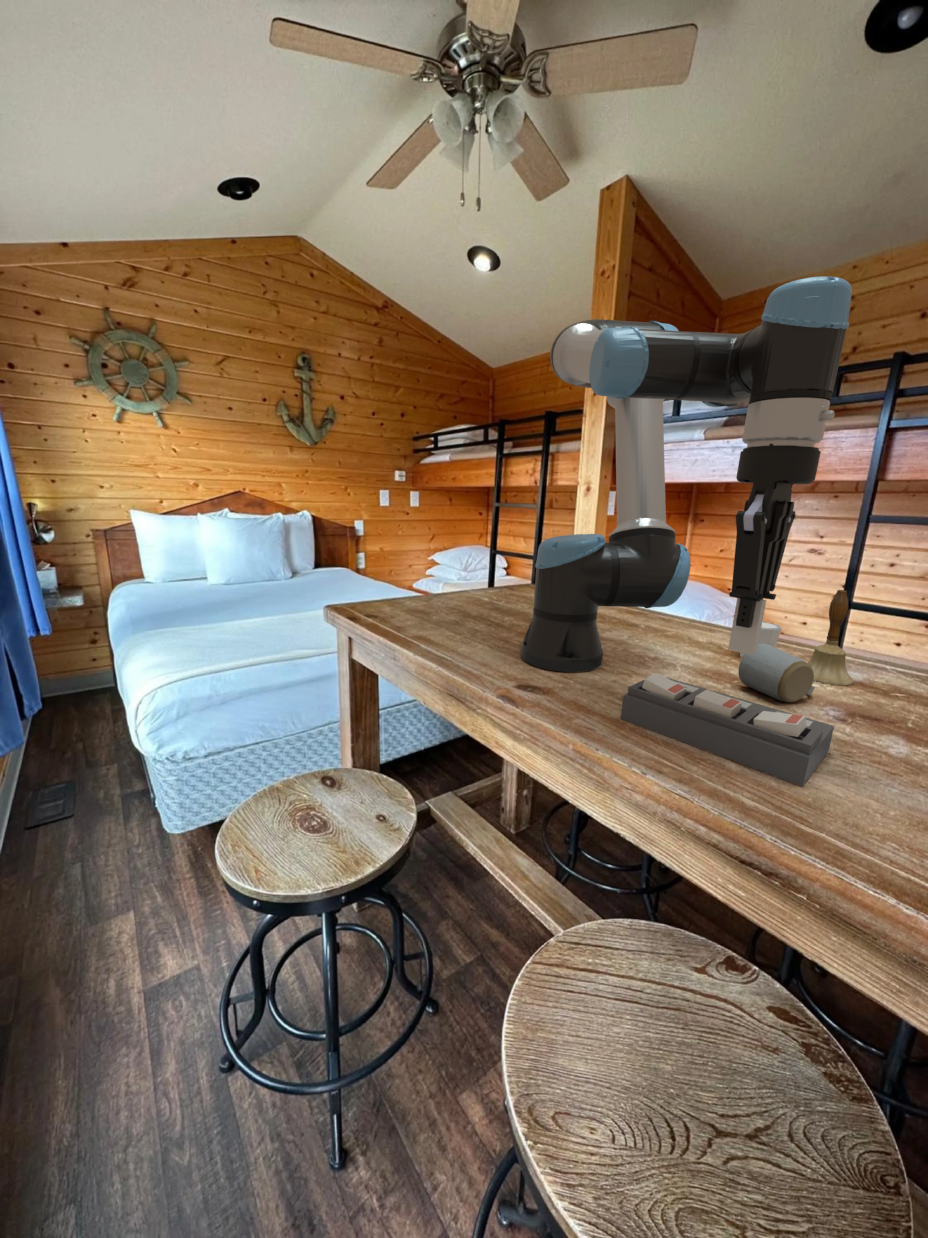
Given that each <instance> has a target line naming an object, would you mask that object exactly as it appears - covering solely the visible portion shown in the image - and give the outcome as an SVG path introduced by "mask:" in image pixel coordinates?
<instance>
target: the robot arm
mask: <svg viewBox="0 0 928 1238" xmlns="http://www.w3.org/2000/svg"><path fill="white" fill-rule="evenodd" d="M852 289H853V288H852V286H851V283H850V282H848V281H847V280H846V279H843V278H841V277H838V276H837V277H836V276H826V275H825V276H824V275H823V276H813V277H812V276H810V277H806V278H801V279H796V280H792V281H790V282H786V283H784V284H782V285H780V286H778V287H777V288H775V289H774V290H772V291H771V293H769V295H768V297H767V299H766V303H765V305H764V309H763V313H762V315H761V318H760V320H761V324H760V325H758V326H756V327H754V328H752V329H751V330H749V331H746V332H744V333H724V332H707V331H704V332H702V331H680V330H679V329H678V328H677V327H676V326H674V324H673V325H672V324H670V323H662V322H659V321H656V320H650V321H647V322H644V321H632V320H631V321H628V320H613V319H600V318H597V319H596V318H593V319H585V320H582V321H578V322H574V323H572V324H569V325H568V326H566V327H565V328H563V329H562V330H561V331H560V332H559V333H557V336H556V337H555V338H554V340H553V343H552V345H551V349H550V352H549V353H550V354H549V355H550V356H549V358H550V359H549V361H550V365H551V369H552V371H553V373H554V374H555V376H557V377H558V378H559V380H561V381H563V382H564V383H567V384H569V385H573V386H576V387H578V388H579V387H580V388H588V389H591V390H592V392H593V393H594V394H595V395H597V396H600V397H606V402H607V404H608V405H609V406H611V408H613V409H614V412H615V413H614V414H615V415H614V420H615V425H614V426H615V429H614V430H615V469H616V470H615V476H616V479H615V480H616V481H615V483H616V485H615V487H616V493H615V494H616V527H615V529H613V531H612V532H610V534H609V535H608V542H607V540H606V538H605V536H604V535H603V534H601V533H584V534H583V533H579V534H578V533H577V534H565V535H558V536H553V537H549V538H545V539H544V540H542V541H541V542H540V544H539V545H538V549H537V554H536V560H535V561H536V562H535V565H534V567H535V568H536V569H535V579H534V580H535V581H534V598H533V610H532V611H533V612H532V619H531V621H530V623H529V626H528V628H527V630H526V633H525V636H524V639H523V642H522V644H521V650H520V651H521V652H520V657H521V659H522V660H523V661H524V662H525V663H527V664H529V665H531V666H534V667H536V668H540V669H544V670H548V671H554V672H563V673H582V672H588V671H593V670H596V669H599V668H600V667H601V666H602V665H603V656H604V651H603V647H602V643H601V637H600V634H599V630H598V624H597V620H598V611H599V607H617V608H618V607H621V608H622V607H626V608H627V607H628V608H630V607H631V608H645V609H651V608H666V607H670V606H671V605H673V604H675V603H676V602H677V601H678V600H679V599H680V597H681V596H682V595H683V592H684V591H685V589H686V587H687V585H688V581H689V577H690V573H691V555H690V552H689V549H688V548H687V546H685V545H684V544H683V545H682V544H681V543H676V541H677V540H676V530H675V529H674V528H672V526H670V525H669V524H667V514H666V513H667V511H666V509H667V508H666V505H667V504H666V476H665V473H666V471H665V437H664V435H665V432H664V431H665V429H664V401H665V400H672V401H674V400H675V401H684V402H685V401H686V402H690V401H691V402H702V403H703V404H705V405H706V406H708V407H711V408H722V407H728V408H729V407H735V406H738V405H740V404H744V403H746V402H748V401H749V402H748V405H747V411H746V417H745V423H744V427H743V433H742V439H741V440H742V442H743V443H744V444H745V445H747V446H746V447H745V448H743V449H742V450H741V451H740V454H739V460H738V465H737V466H738V467H737V470H736V471H737V473H736V476H735V477H736V481H737V482H739V483H742V484H752V487H751V490H750V494H749V496H748V499H747V500H746V501H745V503H744V506H743V507H744V509H743V510H738V511H737V513H736V516H735V526H736V528H735V529H736V538H735V547H734V548H735V549H734V561H733V572H732V583H731V591H730V592H729V593H728V594H729V595H728V597H731V598H736V604H735V607H734V608H735V609H734V614H733V619H732V626H731V632H730V637H729V644H728V649H727V650H729V651H731V652H732V651H733V652H736V653H744V654H749V655H754V654H755V653H756V652H757V647H758V642H759V637H760V631H761V626H762V622H764V615H765V610H766V607H767V605H766V604H767V600H773V601H774V600H775V599H776V597H777V594H776V593H771V592H774V590H775V589H776V584H777V581H778V580H777V579H778V575H779V571H780V568H781V564H782V561H783V557H784V554H785V549H786V546H787V541H788V539H789V535H790V531H791V529H792V526H793V522H794V520H795V519H796V515H797V514H796V511H794V508H795V502H794V501H792V491H793V485H810V484H812V483H813V482H814V481H815V480H816V476H817V471H818V468H819V467H818V466H819V462H820V457H821V450H820V448H818V447H815V445H816V444H818V443H820V442H821V441H823V439H824V436H825V435H824V434H825V430H826V426H827V425H826V421H832V420H833V419H834V418H835V410H830V405H831V401H832V397H833V394H834V388H835V384H836V379H837V374H838V369H839V365H840V362H841V357H842V352H843V348H844V343H845V340H846V335H847V330H848V329H849V327H850V323H849V317H850V311H851V310H850V309H851V308H850V307H851V304H852V303H851V302H852V294H853V290H852Z"/></svg>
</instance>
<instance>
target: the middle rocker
mask: <svg viewBox="0 0 928 1238" xmlns="http://www.w3.org/2000/svg"><path fill="white" fill-rule="evenodd" d="M710 690H711V689H709V690H705V691H703V692H702V693H700V694H698V695H697V696H695V700H694V705H693V706H695V707H698V708H701V709H704V710H707V711H710V712H713V713H717V714H720V715H723V716H726V717H729V718H732V717H734V716H735V715H736V714H738V713H739V712H740V708H741V704H742V702H740V701H737V700H735V699H732V698H729V697H726V696H723V695H721V694H718V693H715V692H716V691H715V692H712V691H713V690H712V691H710Z"/></svg>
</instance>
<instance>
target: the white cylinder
mask: <svg viewBox="0 0 928 1238" xmlns="http://www.w3.org/2000/svg"><path fill="white" fill-rule="evenodd" d="M781 631H782V626H780V625H778V624H775V623H773V622H766V621H762V626H761V631H760V637H759V642H758V644H763V643H764V644H768V645H771V646H773V647H775V648H777V644H778V641H779V637H780V635H781ZM739 653H740V652H739ZM740 656H742V657H743V656H744V653H740Z"/></svg>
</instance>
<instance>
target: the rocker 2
mask: <svg viewBox="0 0 928 1238" xmlns="http://www.w3.org/2000/svg"><path fill="white" fill-rule="evenodd" d="M806 718H807V717H806V715H801V714H794V713H791V714H786V713H777V712H768V711H763V712H761V713H760V714H759V715H758V716H757V717H755V718H754V719H753V720H754V726H757V727H760V728H764V729H767V730H770V731H773V732H776V733H779V734H782V735H788V736H795V737H798V736H799V735H800V734H801V733H802V732H803V730H804V729H805V728H806Z"/></svg>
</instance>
